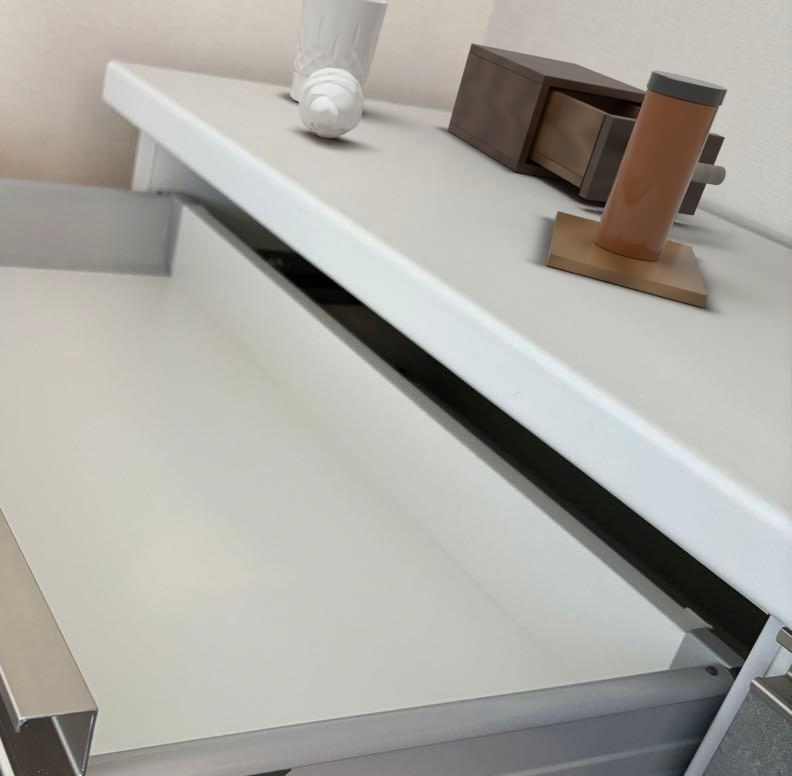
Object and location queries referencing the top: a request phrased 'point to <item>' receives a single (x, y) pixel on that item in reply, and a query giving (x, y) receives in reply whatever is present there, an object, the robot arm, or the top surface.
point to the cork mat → (625, 262)
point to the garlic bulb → (331, 102)
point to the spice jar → (658, 164)
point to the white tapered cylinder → (337, 38)
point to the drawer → (603, 145)
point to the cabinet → (519, 101)
